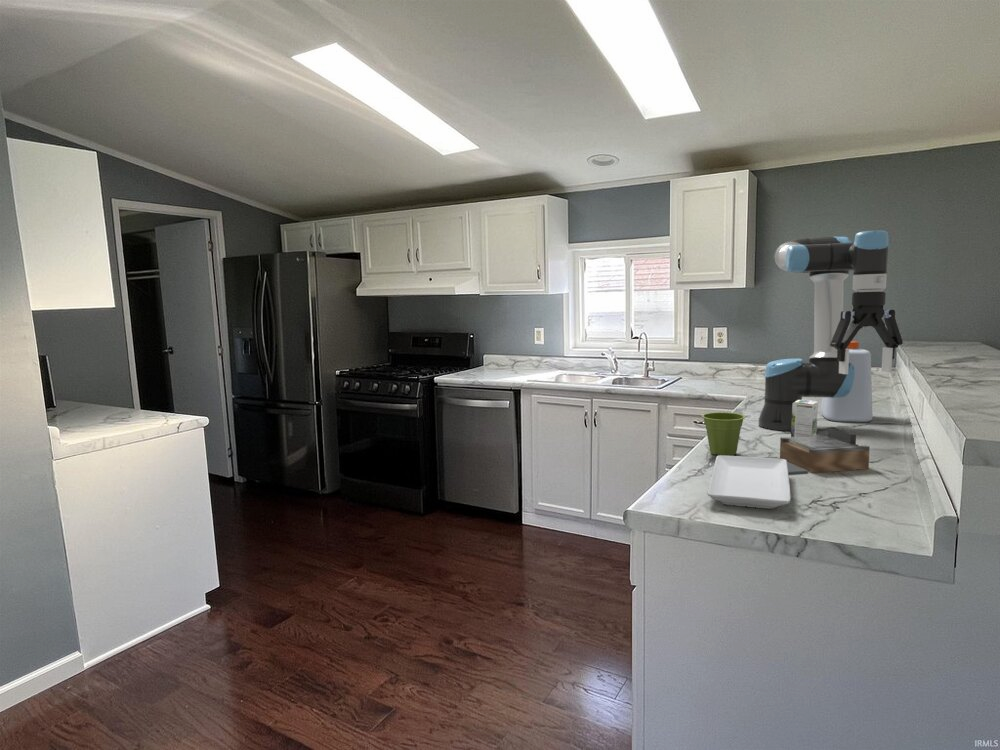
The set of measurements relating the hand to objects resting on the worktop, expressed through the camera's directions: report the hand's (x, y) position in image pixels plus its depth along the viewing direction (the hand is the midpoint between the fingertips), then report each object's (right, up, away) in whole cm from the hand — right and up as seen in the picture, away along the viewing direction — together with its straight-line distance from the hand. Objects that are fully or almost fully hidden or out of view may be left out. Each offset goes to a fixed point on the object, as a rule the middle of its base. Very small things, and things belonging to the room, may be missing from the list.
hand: (865, 372), depth 160 cm
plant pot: (-33, -24, +15) cm, 43 cm away
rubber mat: (-27, -25, 0) cm, 37 cm away
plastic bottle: (+28, -17, +58) cm, 66 cm away
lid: (-11, -20, +1) cm, 23 cm away
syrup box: (-8, -23, +17) cm, 29 cm away
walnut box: (-10, -25, +2) cm, 27 cm away
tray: (-39, -28, -18) cm, 51 cm away
